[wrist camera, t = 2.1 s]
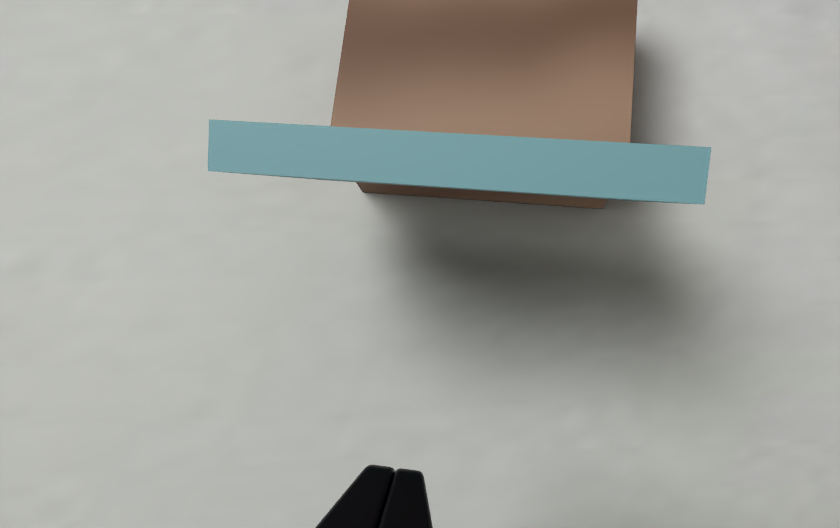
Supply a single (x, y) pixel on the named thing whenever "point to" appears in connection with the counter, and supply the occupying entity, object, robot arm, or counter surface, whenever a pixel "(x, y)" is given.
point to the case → (489, 75)
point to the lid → (462, 161)
